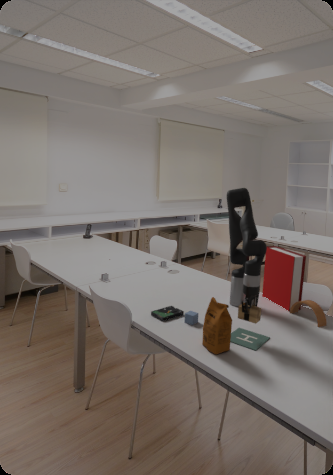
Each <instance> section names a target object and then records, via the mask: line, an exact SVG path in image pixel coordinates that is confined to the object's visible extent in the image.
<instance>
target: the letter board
mask: <svg viewBox="0 0 333 475" xmlns="http://www.w3.org/2000/svg"><path fill="white" fill-rule="evenodd" d="M270 338H271V337H270V336H267V335H264V334H261V333H257V332H256V331H255V332H254V331H251V330H248V329H245V328H242V327H238V328H236V329H235V330H233V331H231V340H230V343H232V344H235V345H238V346H240V347H243V348H247V349H249V350H252V351H255V352H256V351H257V350H259V349H260V348H261V347H262V346H263V345H264V344H265V343H266V342H267V341H268V340H270Z"/></svg>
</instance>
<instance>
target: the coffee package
mask: <svg viewBox="0 0 333 475" xmlns="http://www.w3.org/2000/svg"><path fill="white" fill-rule="evenodd" d="M229 308H230V306H229V304H227V303H226V304H225V303H221V302H218V301H217V300H216V298H215V297H214V296H213V297H211V298H210V301H209V304H208V307H207V309H206V312H205V315H204V321H203V326H202V343H201V344H202V346H204V347H205V348H206V349H207V351H208V352H210V353H212V354H214V355H218V354H221V353H223V352H228V351H229V350H230V349H231V342H230V340H231V333H232V327H233V326H232V325H233V319H232V316H231V314H230V312H229V310H228V309H229Z"/></svg>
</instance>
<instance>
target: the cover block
mask: <svg viewBox="0 0 333 475" xmlns="http://www.w3.org/2000/svg"><path fill="white" fill-rule="evenodd" d="M248 306H249V305H248ZM237 307H238V306H237ZM249 307H250V306H249ZM237 310H238V311H237V319H238V320H242V321H245V320H244V313H243V312H242V304H241V305H240V306H239V307H238V308H237ZM261 316H262V307H259V306H257V307H256V306H252V308H251V309H250V313H249V321H247V322H249V323H252V324H255V325H256V324H257V323H258V322H260V321H261V318H262V317H261Z"/></svg>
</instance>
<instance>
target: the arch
mask: <svg viewBox="0 0 333 475" xmlns="http://www.w3.org/2000/svg"><path fill="white" fill-rule="evenodd" d="M303 304H304V305H307V307H309V308H310V309H311V310H312V311H313V313H314V314H315V318H316V320H317V327H318V328H322V327H326V326H327V323H328V322H327V317H326V314H325V312H324V310H323V308H322V307H321V306H320V304H318V303H317V302H316V301H313V300H312V299H311V300H310V299H306V300H301V301H299V302H296V303H294V304H293V305H292V307H291V309H290V310H289V314H291V313H292V314H296V313H295V312H297V313H299V311H300V310H299V307H300V306H302V305H303Z"/></svg>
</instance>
